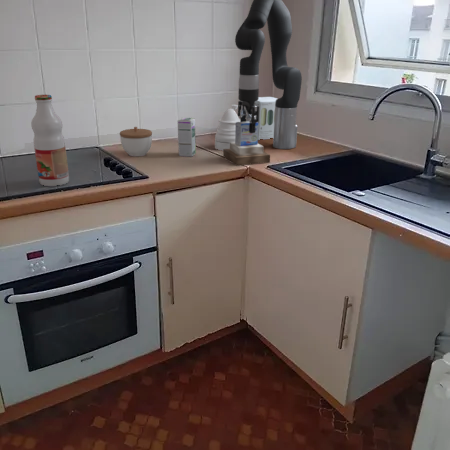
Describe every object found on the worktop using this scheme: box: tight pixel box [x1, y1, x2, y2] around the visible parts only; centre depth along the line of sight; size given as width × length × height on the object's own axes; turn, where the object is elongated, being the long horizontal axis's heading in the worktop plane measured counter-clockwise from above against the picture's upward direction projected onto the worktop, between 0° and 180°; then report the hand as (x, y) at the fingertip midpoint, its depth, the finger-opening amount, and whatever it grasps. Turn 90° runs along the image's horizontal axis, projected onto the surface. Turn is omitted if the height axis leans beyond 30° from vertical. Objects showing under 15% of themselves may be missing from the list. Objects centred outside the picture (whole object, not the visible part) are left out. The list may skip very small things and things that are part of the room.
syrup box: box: [177, 117, 197, 158], centre depth 186 cm, size 6×6×14 cm
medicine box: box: [235, 121, 259, 146], centre depth 180 cm, size 8×4×9 cm, turn 115°
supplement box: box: [245, 96, 279, 141], centre depth 220 cm, size 13×13×18 cm
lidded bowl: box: [119, 126, 153, 157], centre depth 187 cm, size 13×13×11 cm
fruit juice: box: [31, 94, 70, 187], centre depth 148 cm, size 9×9×28 cm
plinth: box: [222, 142, 271, 166], centre depth 183 cm, size 14×14×6 cm
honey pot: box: [214, 104, 240, 152], centre depth 198 cm, size 13×13×18 cm
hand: (247, 130), depth 179 cm, fingers open, 8 cm apart
